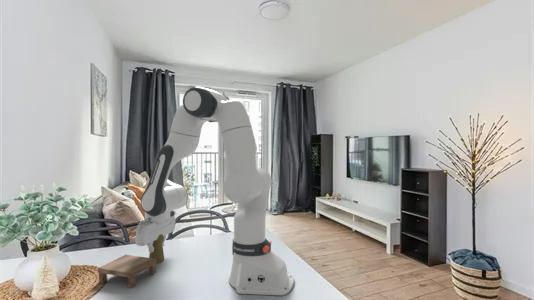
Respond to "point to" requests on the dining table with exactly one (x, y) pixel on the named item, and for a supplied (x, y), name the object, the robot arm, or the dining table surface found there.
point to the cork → (158, 249)
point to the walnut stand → (127, 268)
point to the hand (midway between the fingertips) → (156, 249)
